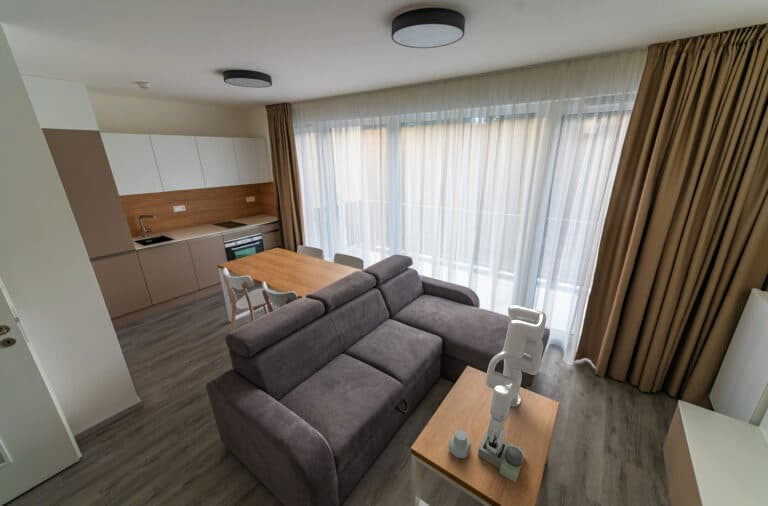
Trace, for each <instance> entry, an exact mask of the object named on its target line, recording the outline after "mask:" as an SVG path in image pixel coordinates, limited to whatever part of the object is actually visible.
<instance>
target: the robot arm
mask: <svg viewBox="0 0 768 506" xmlns="http://www.w3.org/2000/svg"><path fill="white" fill-rule="evenodd" d="M507 315H508V317H509V319H510V321H509V323H508V327H507V331H506V337H505V340H504V344H503V349H502V350H501V351H499V352H498V353H497V354H495V355H494V356H493V357H492V358H491V359H490V361H489V364H488V368H487V371H486V375H485V384H486V386H487V387H488V388H490V389H492V390H493V391H492V395H491V396H492V397H491V403H490V410H489V411H490V412H489V413H490V419H489V424H488V428H487V432H486V433H488V434H489V435H490V434H491V436H490V439H489V446H491V447H492V448H494V449H496V446H497V442H496V441H497V439H498V438H499V436H500V434H501V432H502V429H503V427H505V424H506V421H507V420H509V416H510V409H511V407H513V408H514V407H517V406H519V405H520V404H521V400H522V398H521V396H520V390H521V389H520V388H521V384H522V377H523V375H522V372H523V373H526V374H529V375H533V376H535V375H537V374H538V373H539V371H540V366H541V361H542V356H543V351H544V343H543V340H542V339H543V336H544V334H545V329H546V323H547V315H546V313H545V312H543V311H541V310H538V309H533V308H529V307H525V306H521V305H518V304H517V305H516V304H511V305H509V306H508V308H507ZM502 360H503V371H502V373H501V372H498V371H495V368H496V366H497V364H498V363H499V362H501V361H502ZM494 437H495V440H494Z"/></svg>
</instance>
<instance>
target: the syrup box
mask: <svg viewBox="0 0 768 506" xmlns="http://www.w3.org/2000/svg"><path fill="white" fill-rule="evenodd" d="M505 433H506V427H505V426H504V427H503V429H502V432H501V434H500V436H499V438H498V439H497V441H496V442H497V446H496V449H494V448H492V447H491V446H489V439H490V436H491V434H490V435H489V434H487V441H486V446H485V448H484V449H485V450H487V451H488V452H490V453H492V454H493V455H495V456H497V457H498V458H499V455H500V453H501V451H502V445H503V441H504V439H505ZM494 440H495V437H494Z"/></svg>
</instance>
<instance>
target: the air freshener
mask: <svg viewBox="0 0 768 506" xmlns="http://www.w3.org/2000/svg"><path fill="white" fill-rule="evenodd" d="M471 447H472V443H471V441H470V440H469V438H468V434H467V432H466V431H465V430H464V429H457V430H455V431H454V434H453V435H452V436H451V439H450V440H449V443H448V449H449V452H450V453H451V454H452V455H453V456H454V457H456V458H458V459H466V458H467V456H468V455H469V452H470V450H471Z"/></svg>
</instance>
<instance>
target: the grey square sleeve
mask: <svg viewBox="0 0 768 506" xmlns="http://www.w3.org/2000/svg"><path fill="white" fill-rule="evenodd" d="M487 434H488V433H487V432H486V433H485V435H484V437H483V439H482V441H481V443H480V446H479V447H478V453H477V456H479V457H480V458H482V459H483V460H484V461H486V462H488V463H490V464H491V465H493V466H494V467H496V468H497V469H499V474H500V475H502V476H503V477H505V478H507V479H509V481H511V482H513V483H515V484H517V480H518V476H519V474H520V471H521V468H522V465H523V462H524V459H525V455H526V450H524V449H522V448H520V447H519V446H518V445H515V444H513V443H511V442H509V443H507V442H505V441H504V440H503V445H502V450H501V451H502V453H501V455H500V457H499V456H498V457H497V456H495V455H493V454H492V453H490V452H488V451H487V450H485V448H486V441H487Z"/></svg>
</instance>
